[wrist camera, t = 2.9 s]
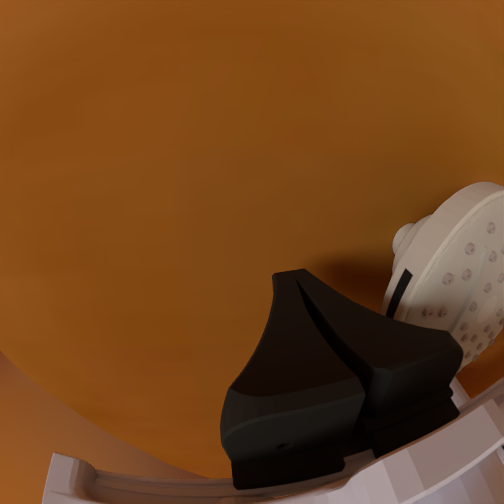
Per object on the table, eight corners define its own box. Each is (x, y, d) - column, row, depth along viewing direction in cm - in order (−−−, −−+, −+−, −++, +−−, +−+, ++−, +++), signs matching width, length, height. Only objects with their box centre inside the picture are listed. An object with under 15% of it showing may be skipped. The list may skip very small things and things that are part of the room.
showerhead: (491, 376, 10) (360, 420, 8) (434, 309, 16) (312, 310, 15) (566, 226, 6) (482, 162, 4) (480, 183, 13) (357, 134, 11)
